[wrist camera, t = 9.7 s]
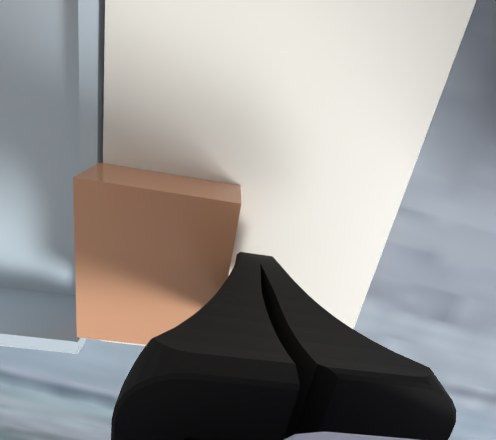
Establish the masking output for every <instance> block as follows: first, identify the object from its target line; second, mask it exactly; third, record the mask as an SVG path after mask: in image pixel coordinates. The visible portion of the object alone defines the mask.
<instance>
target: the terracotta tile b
mask: <svg viewBox="0 0 496 440" xmlns="http://www.w3.org/2000/svg"><path fill="white" fill-rule="evenodd" d="M73 198H74V240H75V282H76V324H77V337H80V338H89V339H98V340H107V341H116V342H125V343H134V344H143V345H147V343H148V342H149V341H150V339H152V338H153V337H156V336H158V335H160V334H162V333H164V332H166V331H168V330H170V329H172V328H175V327H176V326H178V325H179V324H181V323H182V322H184V321H185V320H187V319H188V318H190V317H191V316H192V315H194V314H195V313H196V312H197V311H199V310H200V309H201V308H202V307H203V306H204V305H205V304H206V303H207V302H208V301H209V300H210V299H211V298H212V297H213V296H214V295H215V294H216V293H217V292H218V290H219V289H220V288H221V286H222V285H223V284H224V282H225V281H226V279H227V278H228V275H229V270H230V264H231V259H232V253H233V247H234V242H235V236H236V231H237V225H238V220H239V214H240V209H241V185H236V184H230V183H223V182H217V181H211V180H205V179H199V178H193V177H186V176H180V175H174V174H168V173H162V172H155V171H149V170H143V169H137V168H131V167H125V166H118V165H112V164H106V163H100V162H99V163H97V164H96V165H94V166H92V167H90V168H89V169H87V170H85V171H83V172H82V173H80V174H78V175H76V176H74V177H73Z"/></svg>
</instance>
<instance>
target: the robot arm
mask: <svg viewBox="0 0 496 440" xmlns="http://www.w3.org/2000/svg"><path fill="white" fill-rule="evenodd" d="M455 422H456V409H455V406H454V404H453V401H452V399H451V398H450V396H449V395H448V394H447V392H446V391H445V389H444V388H443V386H442V385H441V383H440V382H439V381H438V379H437V378H436V376H435V375H434V373H433V372H432V370H431V369H430V368H429V367H427V366H424V365H422V364H420V363H418V362H415V361H413V360H411V359H409V358H406V357H404V356H402V355H400V354H397V353H395V352H393V351H391V350H389V349H387V348H385V347H383V346H381V345H379V344H378V343H376V342H374V341H372V340H370V339H368V338H367V337H365V336H363V335H362V334H360V333H358V332H357V331H355V330H354V329H352V328H350V327H349V326H347V325H346V324H344V323H343V322H341V321H340V320H338V319H337V318H336V317H334V316H333V315H332V314H330V313H329V312H328V311H327V310H325V309H324V308H323V307H321V306H320V305H319V304H318V303H317V302H316V301H314V300H313V299H312V298H311V297H310V296H309V295H308V294H307V293H306V292H305V291H304V290H303V289H302V288H301V287H300V286H299V285H298V284H297V283H296V282H295V281H294V280H293V279H292V278H291V277H290V276H289V274H288V273H287V272H286V271H285V270H284V269H283V268H282V266H281V265H280V264H279V263H278V262H277V261H276V260H275V258H274V257H273V256H267V255H260V254H252V253H245V252H239V253H238V254H237V255H236V261H235V265H234V267H233V269H232V271H231V273H230V275H229V276H228V278H227V279H226V281H225V282H224V284H223V285H222V286H221V288H220V289H219V290H218V292H217V293H216V294H215V295H214V296H213V297H212V298H211V299H210V300H209V301H208V302H207V303H206V304H205V305H204V306H203V307H202V308H201V309H200V310H199V311H197V312H196V313H195V314H194V315H192V316H191V317H190V318H188V319H187V320H185V321H184V322H182V323H181V324H179V325H178V326H176V327H175V328H172V329H170V330H168V331H166V332H164V333H162V334H160V335H158V336H156V337H153V338H152V339H150V341H149V342H148V343H147V345H146V346H145V348H144V349H143V351H142V352H141V354H140V355H139V357H138V358H137V360H136V361H135V363H134V365H133V366H132V368H131V370H130V372H129V374H128V376H127V378H126V379H125V381H124V384H123V386H122V388H121V391H120V394H119V397H118V399H117V402H116V405H115V408H114V412H113V416H112V429H111V440H448V438H449V437H450V435H451V432H452V430H453V428H454V425H455Z"/></svg>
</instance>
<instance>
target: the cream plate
mask: <svg viewBox="0 0 496 440" xmlns="http://www.w3.org/2000/svg"><path fill="white" fill-rule="evenodd" d="M475 3H476V0H105V46H104V119H103V163H106V164H112V165H118V166H125V167H131V168H137V169H143V170H149V171H155V172H162V173H168V174H174V175H180V176H186V177H193V178H199V179H205V180H211V181H217V182H223V183H230V184H236V185H241V209H240V214H239V220H238V225H237V231H236V236H235V242H234V247H233V253H232V259H231V264H230V270H229V275H230V273H231V271H232V269H233V267H234V265H235V261H236V255H237V254H238V253H239V252H245V253H252V254H260V255H267V256H273V257H274V258H275V260H276V261H277V262H278V263H279V264H280V265H281V266H282V268H283V269H284V270H285V271H286V272H287V273H288V274H289V276H290V277H291V278H292V279H293V280H294V281H295V282H296V283H297V284H298V285H299V286H300V287H301V288H302V289H303V290H304V291H305V292H306V293H307V294H308V295H309V296H310V297H311V298H312V299H313V300H314V301H316V302H317V303H318V304H319V305H320V306H321V307H323V308H324V309H325V310H327V311H328V312H329V313H330V314H332V315H333V316H334V317H336V318H337V319H338V320H340V321H341V322H343V323H344V324H346V325H347V326H349V327H350V328H352V329H354V326H355V324H356V321H357V318H358V316H359V313H360V310H361V308H362V305H363V302H364V299H365V297H366V294H367V291H368V289H369V286H370V283H371V281H372V278H373V275H374V273H375V270H376V267H377V265H378V262H379V259H380V257H381V254H382V251H383V249H384V246H385V243H386V241H387V238H388V235H389V233H390V230H391V227H392V225H393V222H394V219H395V217H396V214H397V211H398V209H399V206H400V203H401V201H402V198H403V195H404V193H405V190H406V187H407V185H408V182H409V179H410V177H411V174H412V171H413V169H414V166H415V163H416V160H417V158H418V155H419V152H420V150H421V147H422V144H423V142H424V139H425V136H426V134H427V131H428V128H429V126H430V123H431V120H432V118H433V115H434V112H435V110H436V107H437V104H438V102H439V99H440V96H441V94H442V91H443V88H444V86H445V83H446V80H447V78H448V75H449V72H450V70H451V67H452V64H453V62H454V59H455V56H456V54H457V51H458V48H459V46H460V43H461V40H462V38H463V35H464V32H465V30H466V27H467V24H468V21H469V19H470V16H471V13H472V11H473V8H474V5H475ZM229 275H228V276H229ZM100 341H105V342H115V343H124V344H133V345H142V346H146V345H143V344H134V343H125V342H116V341H107V340H100Z"/></svg>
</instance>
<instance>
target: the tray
mask: <svg viewBox="0 0 496 440" xmlns="http://www.w3.org/2000/svg"><path fill="white" fill-rule="evenodd" d="M104 46H105V0H0V346H7V347H17V348H26V349H36V350H45V351H55V352H64V353H74V354H78V353H79V351H80V350H81V348H82V346H83V345H84V343H85V341H86V339H87V338H80V337H77V324H76V282H75V240H74V198H73V177H74V176H76V175H78V174H80V173H82V172H83V171H85V170H87V169H89V168H90V167H92V166H94V165H96V164H97V163H99V162H100V163H103V119H104Z"/></svg>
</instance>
